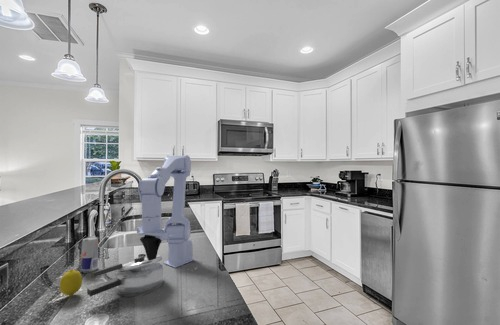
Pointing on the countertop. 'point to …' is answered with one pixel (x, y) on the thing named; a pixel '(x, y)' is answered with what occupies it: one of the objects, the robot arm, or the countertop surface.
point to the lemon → (70, 282)
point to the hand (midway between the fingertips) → (151, 259)
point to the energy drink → (89, 254)
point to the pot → (133, 281)
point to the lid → (128, 265)
